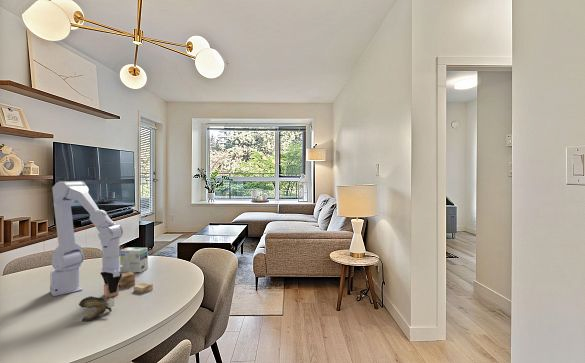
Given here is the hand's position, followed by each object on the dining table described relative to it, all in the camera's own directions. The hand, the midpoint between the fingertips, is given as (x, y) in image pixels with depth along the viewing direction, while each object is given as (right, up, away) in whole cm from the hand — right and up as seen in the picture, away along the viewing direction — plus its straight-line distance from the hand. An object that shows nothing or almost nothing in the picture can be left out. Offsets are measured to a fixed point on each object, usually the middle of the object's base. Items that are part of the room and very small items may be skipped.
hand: (111, 291), depth 120 cm
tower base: (0, -2, +11) cm, 11 cm away
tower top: (0, +1, +11) cm, 11 cm away
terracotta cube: (0, -1, 0) cm, 1 cm away
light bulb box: (-7, -1, +31) cm, 32 cm away
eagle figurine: (+6, -2, -18) cm, 19 cm away
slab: (+10, -2, +5) cm, 11 cm away
